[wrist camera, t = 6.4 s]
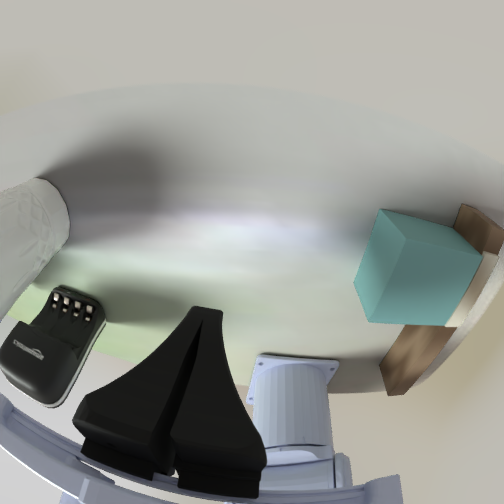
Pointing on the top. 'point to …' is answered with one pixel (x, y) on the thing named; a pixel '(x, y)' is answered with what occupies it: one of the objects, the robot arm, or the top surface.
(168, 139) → the top surface
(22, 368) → the battery charger
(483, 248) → the walnut board
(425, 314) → the teal block
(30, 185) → the white cup
